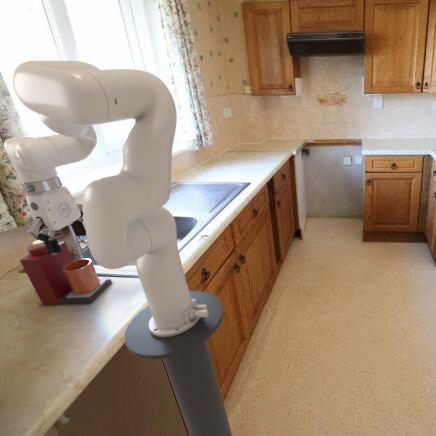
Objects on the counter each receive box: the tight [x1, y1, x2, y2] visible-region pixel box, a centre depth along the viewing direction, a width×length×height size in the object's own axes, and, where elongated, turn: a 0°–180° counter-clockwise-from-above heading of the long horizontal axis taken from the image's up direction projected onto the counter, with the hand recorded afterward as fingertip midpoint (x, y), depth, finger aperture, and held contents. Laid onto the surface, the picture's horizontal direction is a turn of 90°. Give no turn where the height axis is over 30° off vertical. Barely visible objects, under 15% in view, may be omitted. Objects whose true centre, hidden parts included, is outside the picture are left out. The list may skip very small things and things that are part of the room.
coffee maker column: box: [19, 242, 73, 306], centre depth 94 cm, size 6×10×17 cm, turn 179°
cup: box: [63, 258, 100, 294], centre depth 95 cm, size 7×7×8 cm
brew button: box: [31, 239, 45, 248], centre depth 90 cm, size 3×3×2 cm
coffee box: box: [37, 224, 85, 261], centre depth 110 cm, size 9×6×16 cm
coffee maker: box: [50, 253, 113, 305], centre depth 94 cm, size 9×10×15 cm
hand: (69, 243), depth 90 cm, fingers open, 9 cm apart
